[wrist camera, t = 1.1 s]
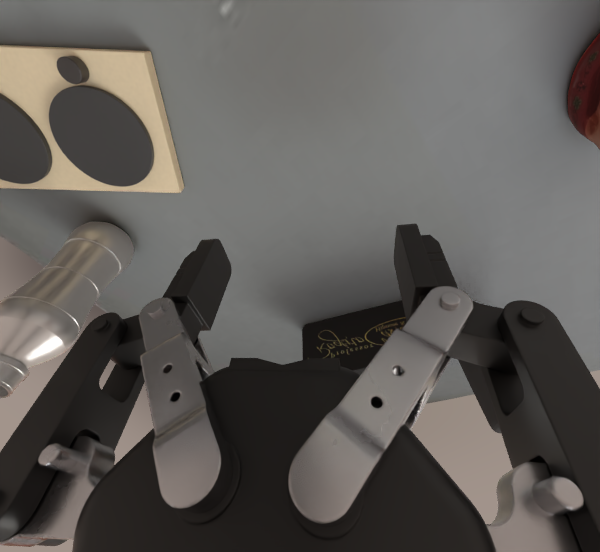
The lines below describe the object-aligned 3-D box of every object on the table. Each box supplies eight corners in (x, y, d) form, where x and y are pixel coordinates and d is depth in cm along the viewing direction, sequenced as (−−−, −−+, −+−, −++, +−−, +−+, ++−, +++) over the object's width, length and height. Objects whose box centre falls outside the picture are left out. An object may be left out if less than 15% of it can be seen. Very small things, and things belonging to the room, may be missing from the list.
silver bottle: (90, 204, 33) (-83, 351, 18) (148, 235, 36) (41, 384, 21) (76, 239, 36) (-81, 389, 21) (130, 265, 39) (26, 413, 24)
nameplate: (306, 331, 49) (307, 386, 42) (302, 325, 48) (303, 380, 40) (430, 301, 44) (457, 357, 37) (429, 293, 43) (457, 349, 36)
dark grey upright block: (471, 348, 53) (518, 435, 42) (450, 349, 53) (491, 435, 42) (492, 317, 47) (554, 408, 36) (468, 317, 47) (522, 408, 36)
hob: (-116, 39, 23) (-156, 41, 21) (150, 51, 24) (137, 53, 22) (-13, 181, 31) (-35, 192, 29) (184, 187, 32) (177, 198, 30)
